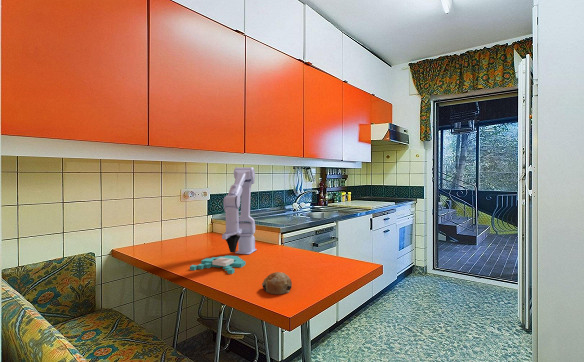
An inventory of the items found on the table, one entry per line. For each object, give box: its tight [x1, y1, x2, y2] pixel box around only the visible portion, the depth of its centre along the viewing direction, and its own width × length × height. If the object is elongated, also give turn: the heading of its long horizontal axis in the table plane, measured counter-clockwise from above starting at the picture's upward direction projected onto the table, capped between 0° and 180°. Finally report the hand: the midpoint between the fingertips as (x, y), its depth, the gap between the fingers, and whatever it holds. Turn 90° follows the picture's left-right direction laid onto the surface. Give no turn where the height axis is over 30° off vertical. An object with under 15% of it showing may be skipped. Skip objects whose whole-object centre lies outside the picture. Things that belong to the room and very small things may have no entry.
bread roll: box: [261, 271, 293, 295], centre depth 114 cm, size 10×10×8 cm
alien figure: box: [189, 254, 247, 275], centre depth 144 cm, size 20×2×20 cm
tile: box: [212, 257, 234, 266], centre depth 141 cm, size 2×7×6 cm
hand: (232, 251), depth 144 cm, fingers closed
